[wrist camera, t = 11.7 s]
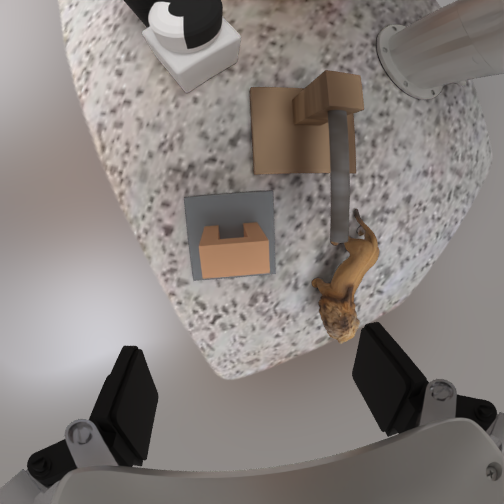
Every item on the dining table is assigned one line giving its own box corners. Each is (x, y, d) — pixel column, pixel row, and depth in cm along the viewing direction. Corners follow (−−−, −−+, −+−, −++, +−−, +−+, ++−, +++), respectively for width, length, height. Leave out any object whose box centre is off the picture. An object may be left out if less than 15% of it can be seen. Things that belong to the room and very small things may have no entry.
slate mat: (272, 190, 31) (272, 191, 30) (274, 272, 34) (275, 273, 33) (184, 197, 30) (183, 197, 29) (193, 278, 33) (193, 280, 32)
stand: (346, 96, 28) (401, 70, 16) (350, 216, 33) (406, 242, 21) (249, 90, 27) (265, 49, 15) (256, 221, 32) (275, 252, 20)
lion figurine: (334, 313, 37) (360, 349, 28) (300, 307, 36) (321, 347, 27) (369, 213, 33) (411, 229, 24) (335, 202, 32) (372, 215, 23)
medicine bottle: (205, 25, 23) (199, -31, 12) (238, 62, 25) (248, 11, 14) (155, 56, 24) (125, 8, 13) (186, 94, 26) (167, 55, 15)
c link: (257, 222, 31) (268, 240, 23) (258, 247, 32) (269, 272, 24) (204, 226, 30) (198, 246, 23) (207, 251, 31) (202, 278, 24)
